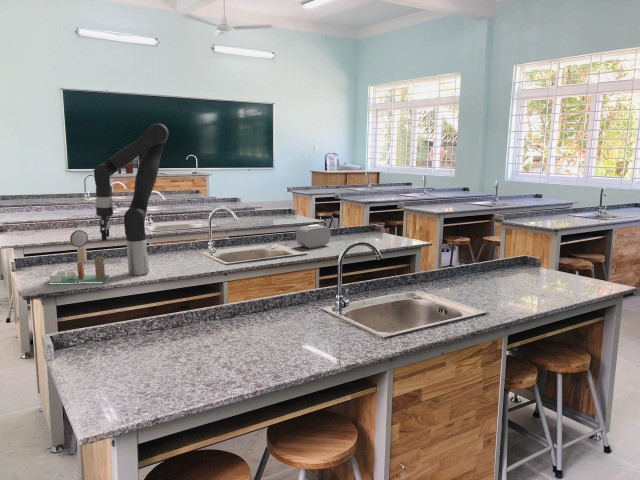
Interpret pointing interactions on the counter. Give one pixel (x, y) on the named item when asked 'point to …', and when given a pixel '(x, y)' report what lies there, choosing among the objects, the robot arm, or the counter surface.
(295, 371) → the counter surface
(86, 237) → the magnifying glass
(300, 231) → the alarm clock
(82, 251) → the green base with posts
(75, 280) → the pitch
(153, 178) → the robot arm
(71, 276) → the ball
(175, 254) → the counter surface
